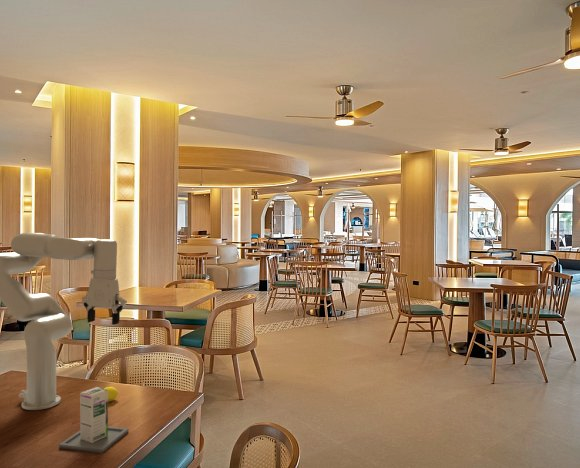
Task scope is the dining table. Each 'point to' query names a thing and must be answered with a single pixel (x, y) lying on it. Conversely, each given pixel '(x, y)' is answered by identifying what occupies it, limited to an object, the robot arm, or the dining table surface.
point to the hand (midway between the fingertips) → (103, 322)
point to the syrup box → (94, 414)
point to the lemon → (111, 393)
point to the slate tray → (96, 447)
